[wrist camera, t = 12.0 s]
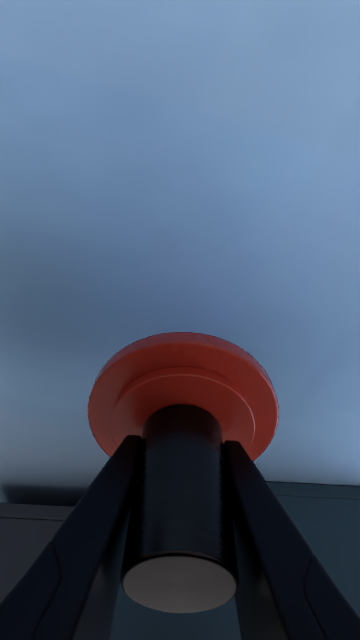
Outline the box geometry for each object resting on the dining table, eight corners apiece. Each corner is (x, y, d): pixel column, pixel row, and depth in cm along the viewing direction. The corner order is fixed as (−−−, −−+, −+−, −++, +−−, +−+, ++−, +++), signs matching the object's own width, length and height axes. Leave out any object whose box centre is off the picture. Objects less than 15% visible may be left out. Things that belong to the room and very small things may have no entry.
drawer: (-69, 595, 25) (-167, 772, 18) (-139, 481, 18) (-332, 685, 12) (163, 607, 25) (154, 787, 18) (170, 498, 19) (159, 708, 12)
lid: (258, 473, 13) (296, 654, 8) (97, 465, 12) (49, 642, 8) (292, 337, 10) (379, 502, 5) (84, 325, 10) (-3, 482, 5)
